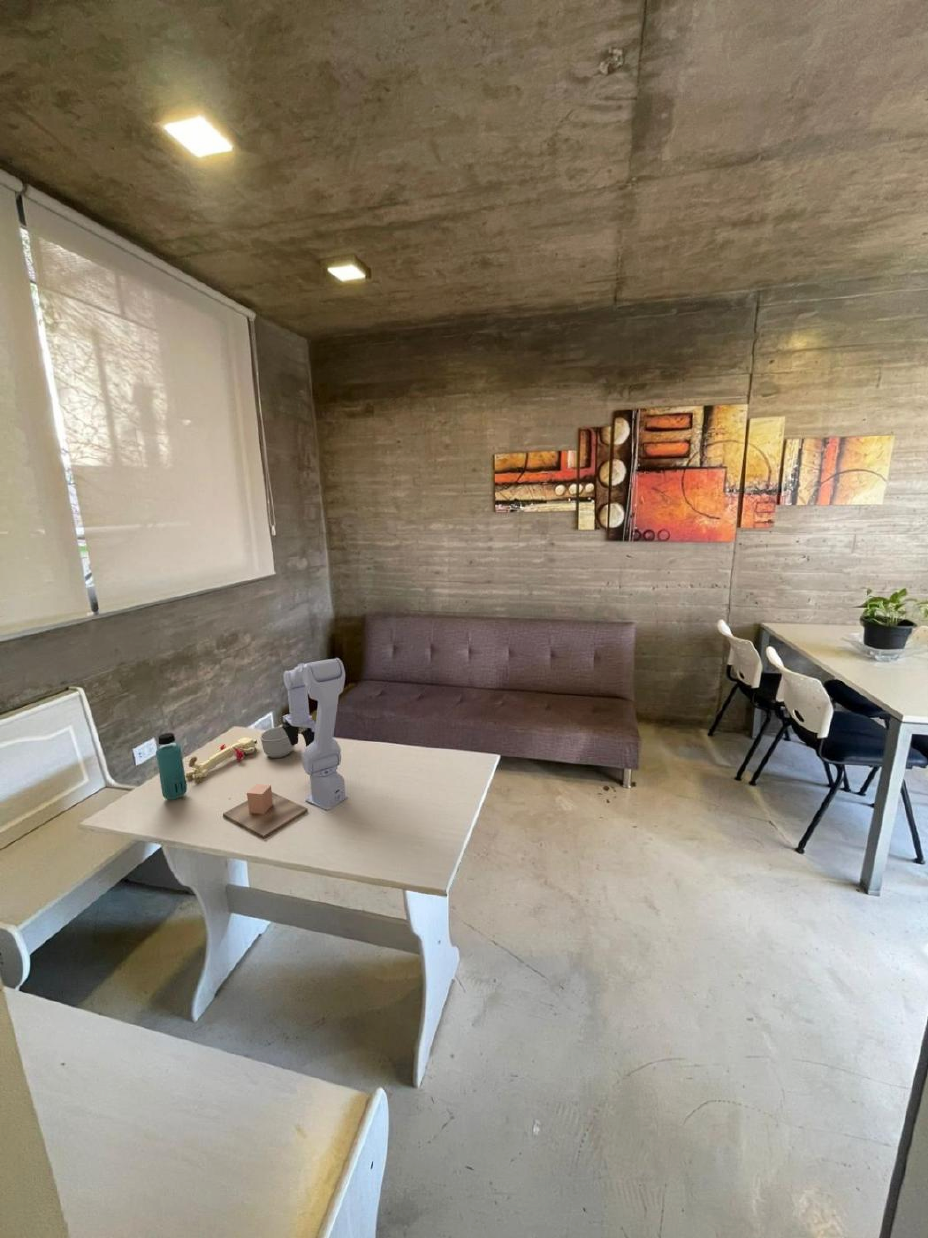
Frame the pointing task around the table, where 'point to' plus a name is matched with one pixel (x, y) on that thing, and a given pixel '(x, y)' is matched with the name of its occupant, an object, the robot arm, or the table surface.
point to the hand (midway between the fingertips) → (302, 747)
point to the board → (266, 816)
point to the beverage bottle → (171, 767)
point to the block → (260, 799)
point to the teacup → (276, 742)
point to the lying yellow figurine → (220, 758)
